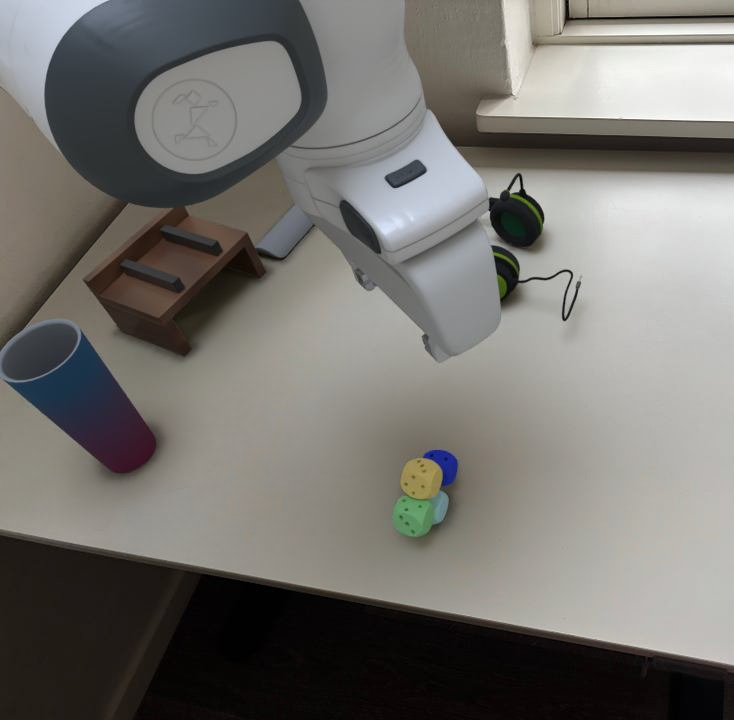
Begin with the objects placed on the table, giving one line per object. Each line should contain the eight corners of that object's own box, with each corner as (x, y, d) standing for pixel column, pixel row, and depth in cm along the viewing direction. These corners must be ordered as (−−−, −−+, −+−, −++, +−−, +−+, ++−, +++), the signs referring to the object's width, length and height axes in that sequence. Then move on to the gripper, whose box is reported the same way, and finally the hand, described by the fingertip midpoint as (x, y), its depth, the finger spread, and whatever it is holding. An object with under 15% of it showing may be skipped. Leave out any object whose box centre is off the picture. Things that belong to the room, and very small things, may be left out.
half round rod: (252, 256, 86) (246, 244, 84) (339, 162, 96) (335, 151, 95) (280, 263, 84) (275, 251, 83) (365, 167, 95) (362, 155, 94)
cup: (137, 489, 66) (41, 389, 55) (80, 473, 68) (-24, 374, 57) (179, 429, 70) (98, 325, 59) (124, 416, 72) (35, 312, 61)
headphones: (563, 271, 63) (365, 238, 70) (566, 342, 71) (387, 307, 77) (608, 165, 73) (430, 145, 79) (607, 238, 80) (444, 214, 86)
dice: (435, 465, 63) (422, 423, 59) (463, 472, 63) (451, 430, 58) (399, 546, 59) (381, 508, 54) (428, 554, 58) (413, 517, 53)
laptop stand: (184, 356, 76) (148, 304, 70) (120, 331, 80) (81, 279, 74) (266, 271, 84) (240, 217, 78) (204, 252, 88) (175, 198, 81)
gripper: (232, 105, 46) (301, 266, 56) (404, 260, 34) (450, 427, 44) (318, 66, 48) (369, 228, 58) (508, 199, 36) (528, 373, 46)
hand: (405, 315), depth 51 cm, fingers open, 8 cm apart
